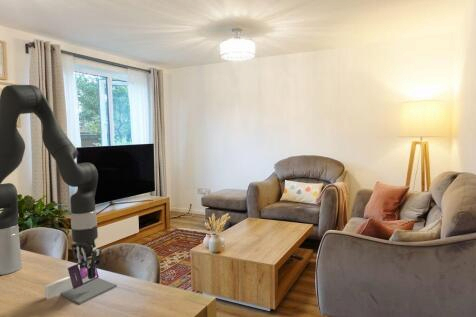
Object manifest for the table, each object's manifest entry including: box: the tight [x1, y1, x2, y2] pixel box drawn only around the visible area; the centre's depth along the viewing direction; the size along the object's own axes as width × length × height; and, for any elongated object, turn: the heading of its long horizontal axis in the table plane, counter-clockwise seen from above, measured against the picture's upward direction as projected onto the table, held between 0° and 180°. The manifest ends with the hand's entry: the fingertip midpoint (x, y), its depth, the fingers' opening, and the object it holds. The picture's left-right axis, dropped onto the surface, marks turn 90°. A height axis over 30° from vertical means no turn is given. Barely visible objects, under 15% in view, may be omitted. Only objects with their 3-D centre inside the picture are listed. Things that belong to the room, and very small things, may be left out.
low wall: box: [44, 275, 93, 300], centre depth 109 cm, size 2×16×4 cm, turn 146°
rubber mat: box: [59, 277, 118, 305], centre depth 107 cm, size 11×13×1 cm
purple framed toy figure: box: [67, 260, 100, 289], centre depth 105 cm, size 7×5×9 cm
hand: (87, 276), depth 106 cm, fingers closed on purple framed toy figure, 4 cm apart
